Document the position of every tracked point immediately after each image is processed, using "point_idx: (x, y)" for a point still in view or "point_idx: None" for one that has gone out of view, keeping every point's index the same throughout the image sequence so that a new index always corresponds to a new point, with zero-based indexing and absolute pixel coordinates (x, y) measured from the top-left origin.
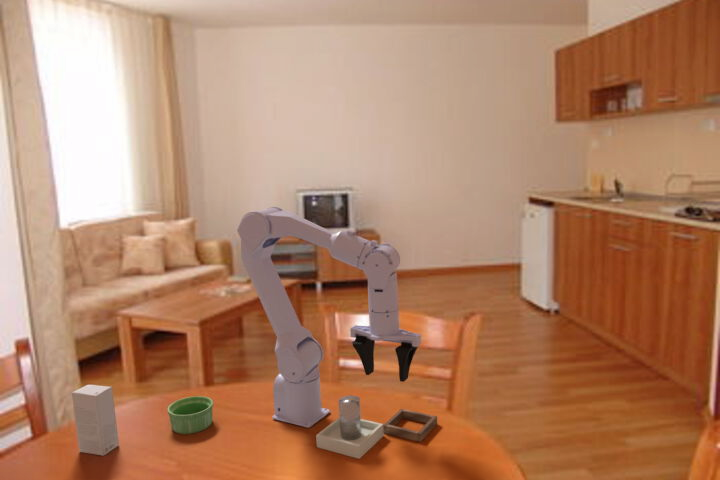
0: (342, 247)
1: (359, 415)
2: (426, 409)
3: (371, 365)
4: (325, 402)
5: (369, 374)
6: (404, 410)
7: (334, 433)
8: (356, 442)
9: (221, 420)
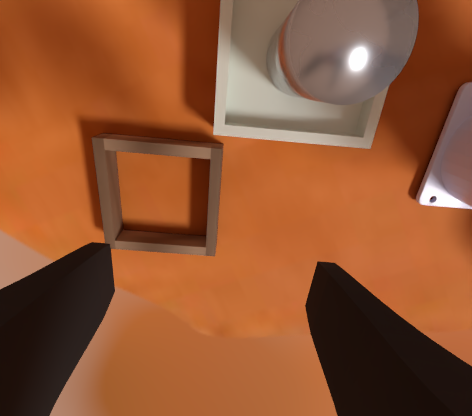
0: None
1: (277, 45)
2: (173, 290)
3: (322, 326)
4: (441, 246)
5: (315, 271)
6: (201, 249)
7: None
8: (264, 9)
9: None
